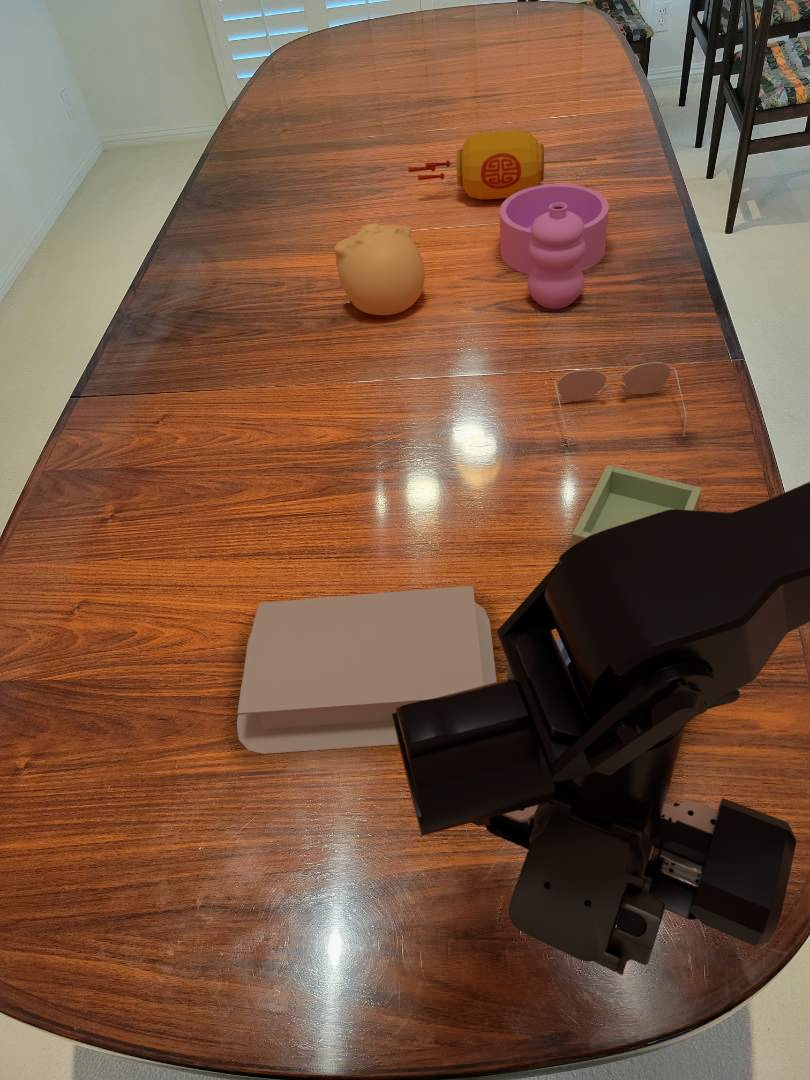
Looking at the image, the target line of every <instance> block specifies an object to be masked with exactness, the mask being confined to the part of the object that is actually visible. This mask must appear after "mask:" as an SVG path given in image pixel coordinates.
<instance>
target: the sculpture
mask: <svg viewBox="0 0 810 1080" xmlns="http://www.w3.org/2000/svg"><path fill="white" fill-rule="evenodd" d="M412 231H413V229H412V227H411V226H409V225H403V224H402V225H400V224H396V225H395V224H390V225H385V224H381V225H380V224H379V223H375V222H374V223H368V224H366V225H364V226H363V227H360V229H359V230H358V232H357V233H355V234H354V235H351V236H349V237H347V238H344V239H341V240H340V241H338V242H337V243H336V244H335V246H334V248H333V251H334V254H335V263H336V266H337V274H338V278H339V281H340V283H341V285H342V288H343V291H344V292H345V294H346V295H345V296H347V298H348V300H349V301H350V302H351V305H353V306H354V307H355V308H356V309H357V310H359V311H361V312H363V313H366V314H369V315H374V316H391V315H396V314H400V313H402V312H405V311H406V310H407V309H409V308H410V307H412V306H413V305H414V304H415V303H416V302H417V301H418V300H419V298H420V296H421V295H422V291H423V288H424V286H425V279H426V270H425V264H424V260H423V256H422V254H421V252H420V250H419V248H418V247H417V245H416V244H415V242H414V240H413V237H412Z"/></svg>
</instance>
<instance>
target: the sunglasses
mask: <svg viewBox="0 0 810 1080" xmlns="http://www.w3.org/2000/svg"><path fill="white" fill-rule="evenodd" d="M671 371H674V376H675V380H676V383H677V386H678V390H679V395H680V398H681V402H682V408H683V413H684V425H683V432H682V437H683V438H685V434H686V424H687V411H686V406H685V404H684V399H683V395H682V391H681V386H680V381H679V376H678V372H677V370H676V368H675V367H670V365H668V364H667V363H665V362H660V361H653V362H646V363H645V362H644V363H641V364H637V365H634V366H632V367H631V368H629V369H628V370H626V372H624V373H618V374H609V375H605V374H604V373H603V372H601V371H600V370H596V369H578V370H577V369H576V370H572V371H569V372H567V373H565V374H563V375H562V376H561V377H560V378H559V379H555V380H554V382H553V386H554V389H555V393H556V398H557V401H558V402H557V403H558V406H559V410H560V414H561V419H562V424H563V427H564V431H565V434H566V440H567V446H568V447H570V443H569V442H570V441H569V436H568V430H567V427H566V423H565V422H566V421H565V419H564V416H563V411H562V406H561V402H560V396H561V398H562V399H563V400H566V401H568V402H580V401H585V400H588V399H590V398H592V397H593V396H595V395H597V394H598V393H600V395H602V394H603V393H604V392H605V391H607V388H608V387H609V384H606V382H607V379H608V378H610V377H618V376H619V377H620V376H622V378H621V381H622V382H621V383H620V387H621V389H622V390H623V392H629V393H632V394H635V395H648V394H652V393H655V392H657V391H658V390H660V389H662V388H663V387H664V385H665V384H666V383H667V382H668V380H669V378H670V375H671ZM559 395H560V396H559Z"/></svg>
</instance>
